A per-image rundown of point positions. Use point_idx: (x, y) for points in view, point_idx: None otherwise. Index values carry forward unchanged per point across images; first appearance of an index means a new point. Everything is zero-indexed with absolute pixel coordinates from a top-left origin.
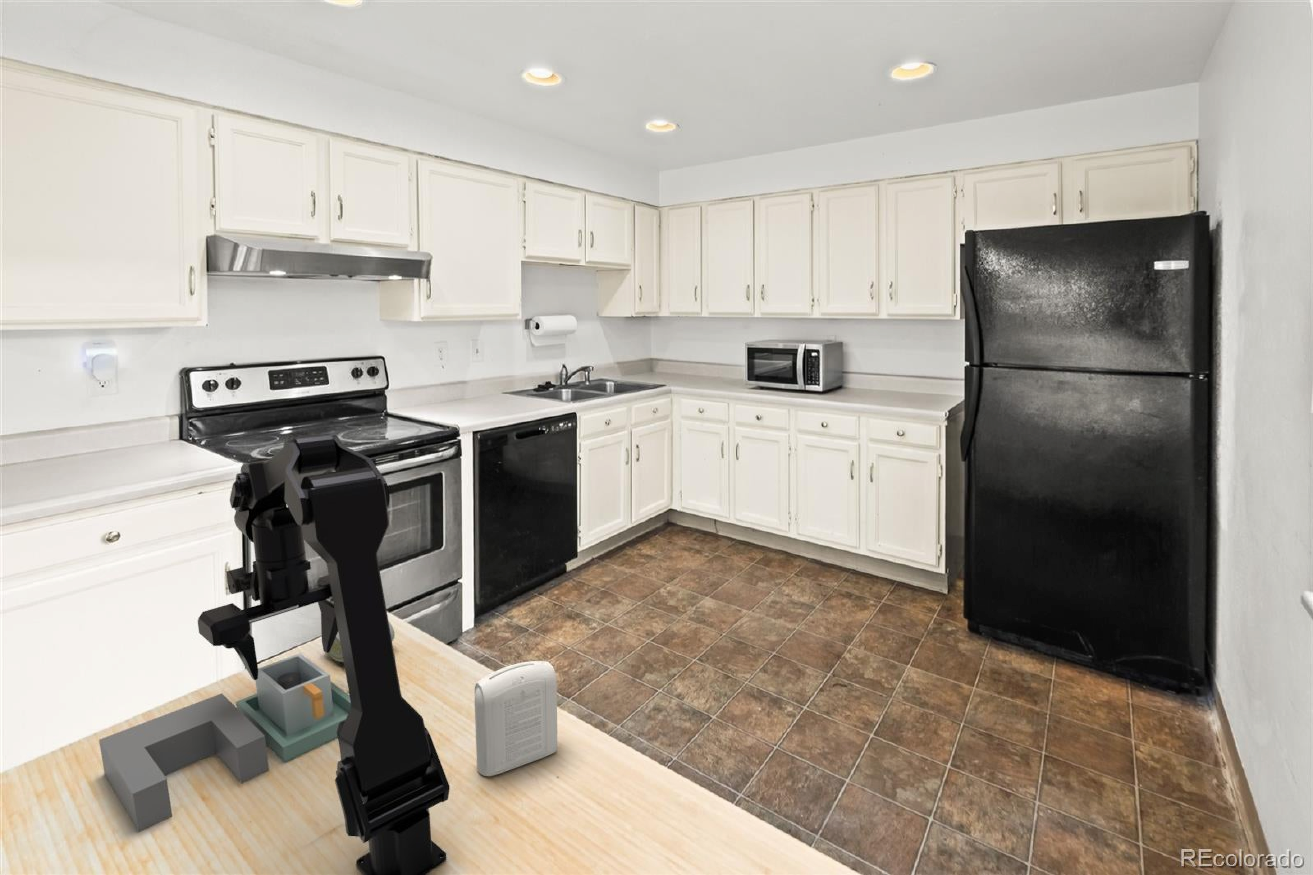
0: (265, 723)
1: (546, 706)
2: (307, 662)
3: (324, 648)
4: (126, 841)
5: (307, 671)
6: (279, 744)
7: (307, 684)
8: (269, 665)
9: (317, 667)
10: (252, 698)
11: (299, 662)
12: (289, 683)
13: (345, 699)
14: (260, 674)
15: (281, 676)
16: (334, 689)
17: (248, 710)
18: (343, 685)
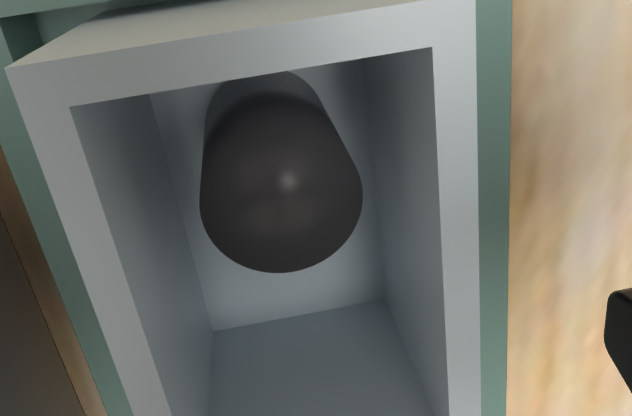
0: (104, 342)
1: None
2: (446, 234)
3: (627, 333)
4: None
5: (416, 198)
6: None
7: None
8: (155, 68)
9: (467, 353)
10: (49, 9)
11: (416, 59)
12: (267, 269)
13: None
14: (59, 203)
15: (238, 152)
16: (482, 232)
17: (21, 158)
18: (566, 6)
